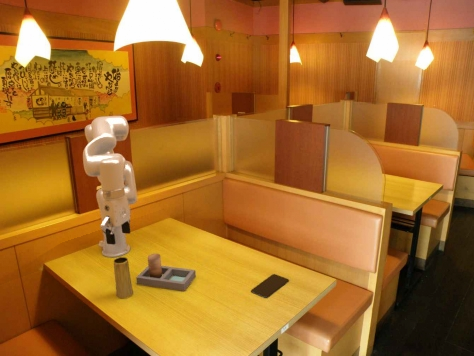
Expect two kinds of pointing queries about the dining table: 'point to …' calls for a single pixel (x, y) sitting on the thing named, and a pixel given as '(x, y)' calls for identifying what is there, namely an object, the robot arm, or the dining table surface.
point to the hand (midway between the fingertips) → (119, 238)
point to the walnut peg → (154, 266)
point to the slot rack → (174, 283)
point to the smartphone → (269, 286)
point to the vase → (122, 278)
